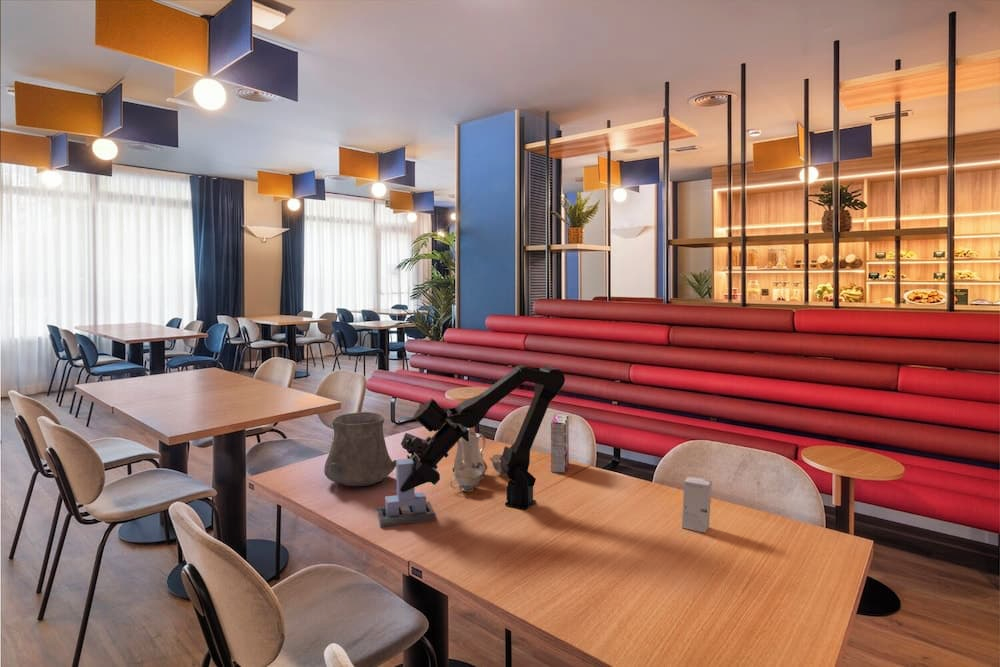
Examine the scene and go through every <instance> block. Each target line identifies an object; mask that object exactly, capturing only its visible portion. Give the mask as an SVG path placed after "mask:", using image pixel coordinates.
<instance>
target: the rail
mask: <svg viewBox="0 0 1000 667" xmlns="http://www.w3.org/2000/svg"><path fill="white" fill-rule="evenodd" d="M376 513H377V514H376V516H377V519H378V523H379V527H380V528H386V527H387V528H388V527H394V526H402V525H409V524H410V525H411V524H417V523H419V524H420V523H425V522H426V523H427V522H435V521H436V513H435V510H434V508H433V506H432V504H431V502H430V501H426V512H422V513H413V505H412V506H404V507H399V515H397V516H388V517H386V506H380V507H376Z"/></svg>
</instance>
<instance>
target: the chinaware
mask: <svg viewBox="0 0 1000 667" xmlns="http://www.w3.org/2000/svg"><path fill="white" fill-rule="evenodd" d="M467 430H468V431H469V441H468V442H467V441H466V440H465V439H463V438H462V437H461V438H460V439H459V440H458V442H457V443H456V444H457V446H456V452H455V457H454V462H453V467H452V472H453V476H454V477H453V478H452V479H451V480H450V482H449V483H450V487H451V488H452V489H457V488H458V490H459V491H461V490H463V491H464V492H472V491H475V488H476V487H477V486H478V485H479V483H480V481H481V480H483V479H484V475H485V474H486V471H487V470H488V465H487V463H486V461H485V460H484V458H483V457H484V454H483V451H484V449H485V447H486V437H485V436H484V435H483V433H476V431H475V430H473V428H467ZM480 437H481V439H482V446H481V448H480V444H479V442H480ZM501 456H502V454H498V453H497V454H494V455H493V456H492V457H489V460H490V461H491V463H492V467H493V469H494V471H495V472H497V473H498V476H504V477H505V476H507V475H506V474H505V473H504V472H503V471H502V469H501V466H500V463H501V460H500V459H499V458H500V457H501ZM453 480H454V481H456V483H457V486H455V487H454V486H452V484H453V483H452V482H453Z"/></svg>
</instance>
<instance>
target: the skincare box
mask: <svg viewBox="0 0 1000 667" xmlns="http://www.w3.org/2000/svg"><path fill="white" fill-rule="evenodd" d="M683 482H684V483H683V497H682V498H683V499H682V516H681V517H682V519H681V528H682V529H685V530H686V529H687V530H690V531H691V530H692V531H695V532H700V533H706V532H707V531H708V529H709V527H710V516H711V515H710V514H711V503H712V502H711V501H712V500H711V498H712V486H713V485H712V484H713V481H712V480H711V479H705V478H700V477H694V476H693V477H692V476H690V475H689V476H687V477H686V478H685V480H684V481H683Z"/></svg>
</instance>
